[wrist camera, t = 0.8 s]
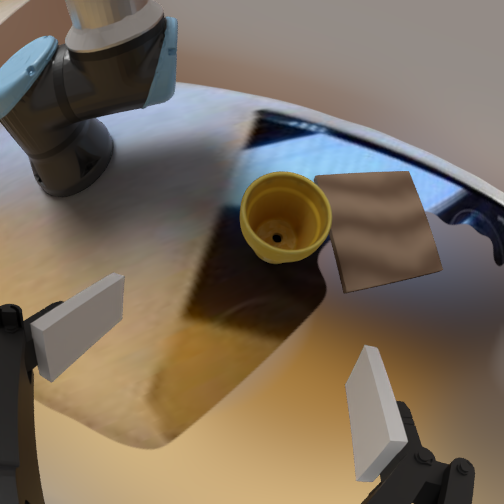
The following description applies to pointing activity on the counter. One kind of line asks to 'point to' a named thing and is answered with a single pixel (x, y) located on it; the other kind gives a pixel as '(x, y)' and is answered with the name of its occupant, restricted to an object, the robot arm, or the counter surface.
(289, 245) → the plant pot
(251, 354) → the counter surface
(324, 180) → the walnut board
